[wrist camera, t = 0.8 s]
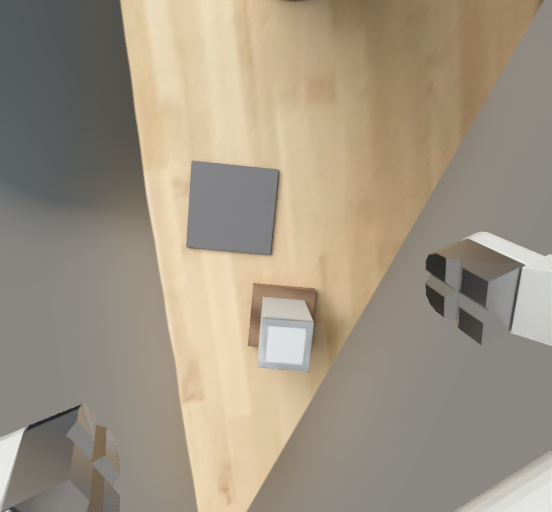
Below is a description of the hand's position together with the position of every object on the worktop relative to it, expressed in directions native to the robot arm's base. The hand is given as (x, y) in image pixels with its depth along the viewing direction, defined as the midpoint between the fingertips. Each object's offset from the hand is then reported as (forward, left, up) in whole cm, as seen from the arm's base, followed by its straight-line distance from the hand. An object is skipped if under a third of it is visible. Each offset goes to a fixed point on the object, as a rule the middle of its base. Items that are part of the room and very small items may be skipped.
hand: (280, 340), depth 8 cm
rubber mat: (-2, -5, -44) cm, 44 cm away
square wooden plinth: (+13, +3, -44) cm, 46 cm away
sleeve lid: (+13, +3, -42) cm, 44 cm away
